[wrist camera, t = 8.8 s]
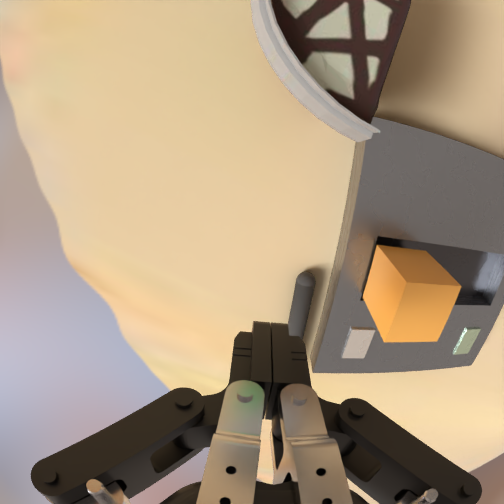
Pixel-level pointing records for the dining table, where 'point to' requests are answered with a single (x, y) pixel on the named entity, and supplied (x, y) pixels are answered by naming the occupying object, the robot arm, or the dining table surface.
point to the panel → (416, 247)
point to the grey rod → (301, 304)
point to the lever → (409, 294)
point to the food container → (332, 54)
